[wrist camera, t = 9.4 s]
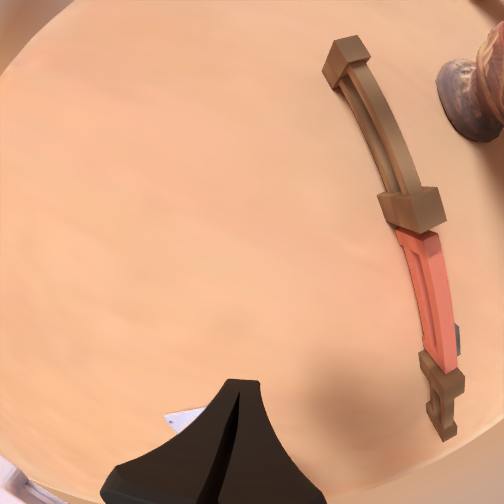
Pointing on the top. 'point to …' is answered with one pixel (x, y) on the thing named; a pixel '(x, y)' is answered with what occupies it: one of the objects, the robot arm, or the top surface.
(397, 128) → the fence
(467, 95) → the mortar and pestle
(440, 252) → the gate
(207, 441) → the robot arm
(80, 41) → the top surface
